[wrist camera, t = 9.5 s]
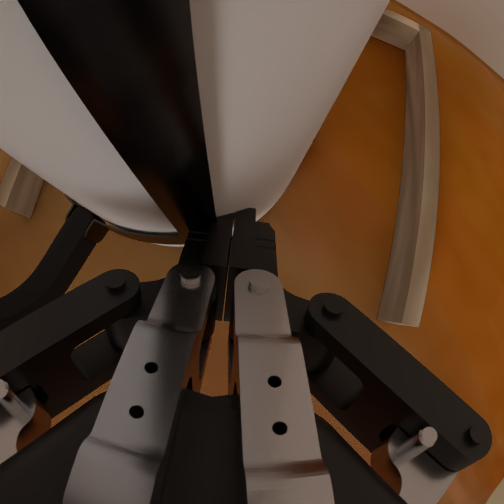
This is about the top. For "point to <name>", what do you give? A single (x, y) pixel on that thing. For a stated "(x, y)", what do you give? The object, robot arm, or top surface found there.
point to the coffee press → (165, 112)
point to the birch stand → (412, 180)
